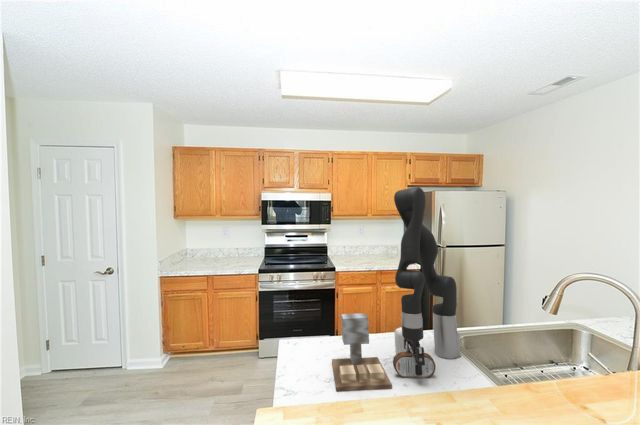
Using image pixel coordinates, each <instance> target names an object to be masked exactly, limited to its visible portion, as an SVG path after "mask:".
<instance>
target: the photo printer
mask: <svg viewBox="0 0 640 425" xmlns="http://www.w3.org/2000/svg"><path fill="white" fill-rule="evenodd" d="M394 344H395V345H394V347H395V355H396V354H398V353H400V352H406V349H404V337H403V336H402V326H400V327H398V328H396V329H394Z"/></svg>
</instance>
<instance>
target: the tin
mask: <svg viewBox="0 0 640 425" xmlns="http://www.w3.org/2000/svg"><path fill="white" fill-rule="evenodd" d="M414 355H416V354H414ZM424 359H425V365H422V376H417V375H416V374H415V362H414V358H412V355H411V352H400V353H398V354H396V353H395V356H394V357H393V359H392V366H393V368H394V371H395V372H396V374H397V375H399V376H400V377H402V378H412V379H413V378H414V379H415V378H416V379H419V378H420V379H427V378H431V377H432V376H434V374H435V372H436V366H437V365H436V362H435V361H434V358H433V357H432V355H430V354H428V353H426V352H424ZM419 361H420V360H419Z"/></svg>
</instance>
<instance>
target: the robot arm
mask: <svg viewBox="0 0 640 425" xmlns="http://www.w3.org/2000/svg"><path fill="white" fill-rule="evenodd" d="M393 201H394V205H395V208H396V210H397V212H398V214H399V217H400V219H401V220H402V222H403V225H404V226H405V228H406V230H405V231H404V233H403V235H402V238H401V240H400V258H399V261H398V262H399V263H398V266H397V270H396V273H395V277H394V282H395V284H396V286H397V287H398V288H400V289H406V290H413V293H409V294H404V295H402V296H401V298H400V299H401V304H400V305H401V318H400V319H401V327H402V336H403V337H404V349H406V352H411V355H412V358H414V362H415V374H416V375H417V376H422V365H425V359H424V353H425V348H424V347H423V346H421V344H420V341H421V340H423V339H424V325H423V324H424V321H423V314H422V295H423V290H424V287H425V285H426V289H427V291H428V293H429V294H430V295H431V296H434V297H439V298H442V303H436V304H433V306H432V321H433V323H432V324H433V325H432V326H433V340H434V342H433V343H434V353H435V355H436V356H438V357H440V358H441V359H448V360H449V359H450V360H452V359H458V358H459V357H461V356H462V355H461V341H460V339H461V338H460V333H459V332H458V326H457V325H458V324H457V307H458V306H457V283H456V280H455V279H454V277H452V276H450V275H439V274H437V272H436V269H435V263H436V261H437V260H436V259H437V257H438V253H439V248H438V244H437V241H436V238H435V235H434V234H433V233H432V232H431V230H430V229H429V228H428V227H426V226H425V225H424V224H423V222H424V221H423V220H424V216H425V215H424V214H425V209H426V194H425V192H424V190H423V189H422V188H421V187H419V186H415V187H410V188H405V189H399V190H397V191H396V192H395V193H394V196H393ZM416 264H420V268H421V270H422V271H421V270H417V269H408V268H409V266H411V265H416ZM414 354H416V355H414ZM419 360H420V361H419Z"/></svg>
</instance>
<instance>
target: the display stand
mask: <svg viewBox="0 0 640 425" xmlns="http://www.w3.org/2000/svg"><path fill="white" fill-rule="evenodd" d="M341 338H342V343H343V345H344V346H347V345H349V354H350V356H349V357H350V358H332V359H331V361H332V362H331V364H332V371H333V376H334V382H335V388H336V392H354V391H355V392H356V391H358V392H359V391H375V390H376V391H377V390H392V389H393V383H392V382H391V379H390V378H389V376H388V374H387V373H386V370H385V368H384V367H383V365H382V362H381V361H380V359H379V357H378V356H372V357H371V356H370V357H362V355H363V354H362V353H363V352H362V345H368V344H370V331H369V317H368V315H367V314H366V312H363V313H342V314H341Z"/></svg>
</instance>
